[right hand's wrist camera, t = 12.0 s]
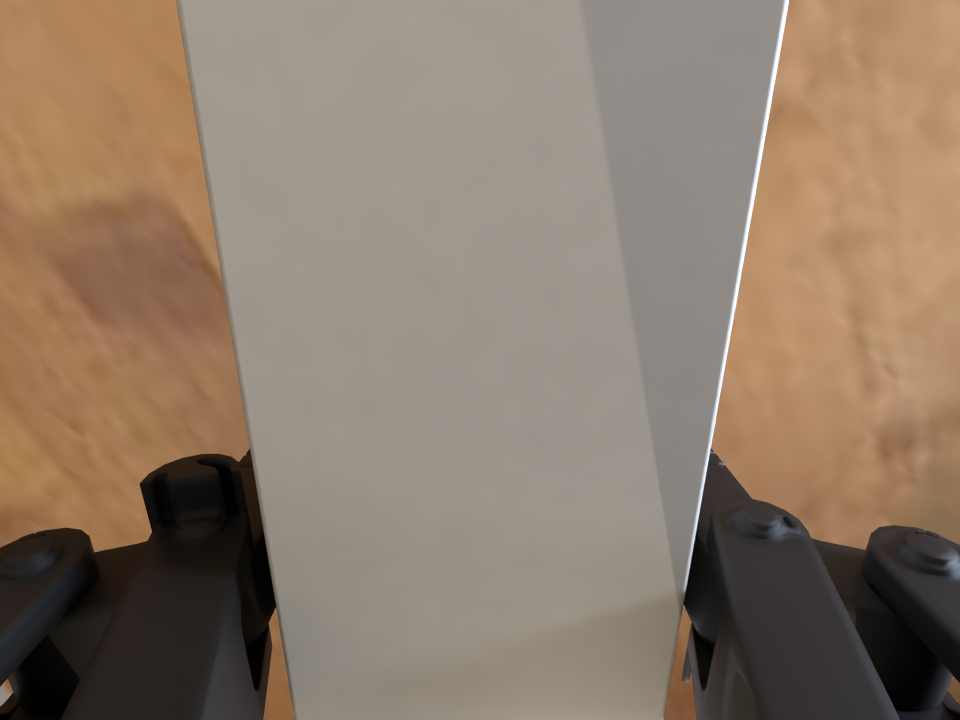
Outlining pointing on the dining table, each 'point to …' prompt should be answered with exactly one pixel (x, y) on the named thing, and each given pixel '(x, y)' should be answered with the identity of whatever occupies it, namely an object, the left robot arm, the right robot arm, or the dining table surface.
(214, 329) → the dining table surface
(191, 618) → the right robot arm
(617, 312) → the bar
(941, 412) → the dining table surface
